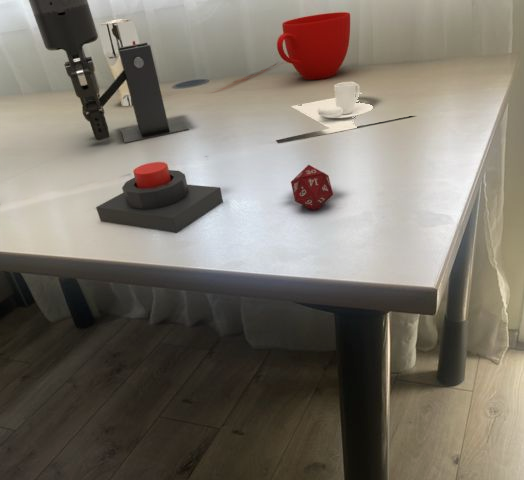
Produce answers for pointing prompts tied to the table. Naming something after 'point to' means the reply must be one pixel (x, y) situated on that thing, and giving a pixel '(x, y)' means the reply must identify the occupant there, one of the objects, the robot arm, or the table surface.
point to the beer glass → (112, 39)
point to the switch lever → (109, 91)
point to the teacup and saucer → (333, 111)
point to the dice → (311, 188)
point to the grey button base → (160, 204)
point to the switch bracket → (145, 96)
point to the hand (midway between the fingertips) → (102, 135)
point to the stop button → (152, 175)
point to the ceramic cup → (316, 43)
